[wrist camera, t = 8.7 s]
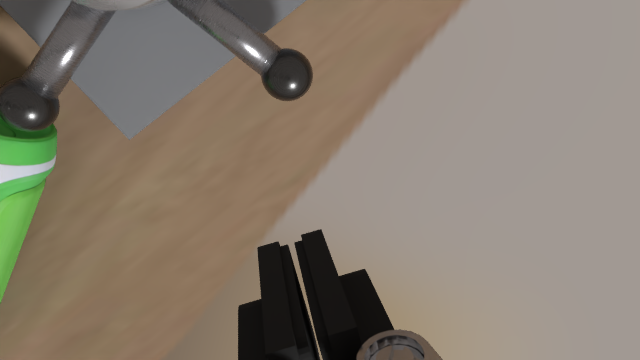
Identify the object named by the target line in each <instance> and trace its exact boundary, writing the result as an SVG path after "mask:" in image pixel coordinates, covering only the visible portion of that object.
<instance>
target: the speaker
mask: <svg viewBox="0 0 640 360" xmlns="http://www.w3.org/2000/svg"><path fill="white" fill-rule="evenodd" d="M56 150H57V130H56V128H55V126H54V125H53V123H52V124H51V125H50V126H49V127H47V128H45V129H43V130H40V131H35V132H25V131H20V130H17V129H15V128H13V127H11V126H9V125H8V124H7V123H6V122H4V121H3V119H2V118H1V117H0V303H1V300H2V297H3V295H4V292H5V289H6V287H7V284H8V281H9V279H10V276H11V273H12V271H13V268H14V265H15V262H16V260H17V257H18V254H19V252H20V249H21V246H22V243H23V241H24V238H25V236H26V233H27V230H28V228H29V225H30V222H31V220H32V217H33V214H34V212H35V209H36V206H37V204H38V201H39V199H40V196H41V193H42V191H43V188H44V185H45V181H46V179H45V178H46V177H47V176H48V175H49V174H50V173H51V171H52V170H53V168H54V165H55V160H56Z"/></svg>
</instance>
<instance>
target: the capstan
mask: <svg viewBox="0 0 640 360" xmlns="http://www.w3.org/2000/svg"><path fill="white" fill-rule="evenodd" d="M165 1H168V2H169V3H170V4H171V5H172V6H173V7H175V8H176V9H177V10H178V11H180V12H181V13H182V14H183V15H185V16H186V17H187V18H189V19H190V20H191V21H192V22H194V23H195V24H196V25H197V26H199V27H200V28H201V29H203V30H204V31H205V32H206V33H208V34H209V35H210V36H211V37H213V38H214V39H215V40H216V41H218V42H219V43H220V44H222V45H223V46H224V47H225V48H227V49H228V50H229V51H230V52H232V53H233V54H234V55H235V56H237V57H238V58H239V59H241V60H242V61H243V62H244V63H246V64H247V65H248V66H249V67H251V68H252V69H253V70H254V71H256V72H257V73H258V74H260V75H261V78H262V83H263V85H264V87H265V89H266V90H267V92H268V93H269V94H270V95H271V96H273V97H274V98H276V99H279V100H282V101H292V100H296V99H298V98H300V97H302V96H303V95H304V94H305V93H306V92H307V91H308V89H309V88H310V86H311V83H312V78H313V72H312V67H311V65H310V62H309V61H308V59H307V58H306V57H305V56H304V55H303V54H302V53H300V52H299V51H296V50H294V49H288V48H286V49H281V48H280V47H279V46H278V45H276V44H275V43H274V42H273V41H271V40H270V39H269V38H268V37H267V36H265V35H264V34H263V33H262V32H261V31H259V30H258V29H257V28H256V27H255V26H253V25H252V24H251V23H250V22H248V21H247V20H246V19H245V18H244V17H242V16H241V15H240V14H239V13H238V12H236V11H235V10H234V9H233V8H232V7H230V6H229V5H228V4H227V3H225V2H224V1H223V0H72V1H71V2H70V4H69V6H68V7H67V9H66V10H65V12H64V13H63V15H62V16H61V18H60V19H59V21H58V22H57V24H56V25H55V27H54V29H53V30H52V32H51V33H50V35H49V36H48V38H47V39H46V41H45V42H44V44H43V45H42V47H41V48H40V50H39V51H38V53H37V55H36V56H35V58H34V59H33V61H32V62H31V64H30V65H29V67H28V68H27V70H26V71H25V73H24V74H23V76H22V77H19V78H15V79H12V80H10V81H8V82H6V83H5V84H4V85H3V86H2V87H1V88H0V117H1V118H2V119H3V121H4V122H6V123H7V124H8V125H9V126H11V127H13V128H15V129H17V130H20V131H25V132H35V131H40V130H43V129H45V128H47V127H49V126H50V125H51V124H52V123H53V122H54V121H55V120H56V118H57V116H58V114H59V107H60V106H59V100H58V96H59V95H60V93H61V92H62V90H63V89H64V87H65V86H66V84H67V83H68V81H69V80H70V78H71V77H72V75H73V74H74V72H75V71H76V70H77V68H78V67H79V65H80V64H81V62H82V61H83V59H84V58H85V56H86V55H87V53H88V52H89V50H90V49H91V47H92V46H93V44H94V43H95V41H96V40H97V38H98V37H99V36H100V34H101V33H102V31H103V30H104V28H105V27H106V25H107V24H108V22H109V21H110V19H111V18H112V16H113V15H114V13H115V12H116V10H141V9H147V8H152V7H155V6H158V5H160V4H162V3H164V2H165Z"/></svg>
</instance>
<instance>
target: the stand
mask: <svg viewBox="0 0 640 360" xmlns="http://www.w3.org/2000/svg"><path fill="white" fill-rule="evenodd" d="M71 1H72V0H0V5H1V6H2V7H3V9H4V10H5V11H6V12H7V13H8V14H9V15H10V16H11V17H12V18H13V19H14V20H15V21H16V22H17V23H18V24H19V25H20V26H21V27H22V28H23V29H24V30H25V31H26V33H27V34H28V35H29V36H30V37H31V38H32V39H33V40H34V41H35V42H36V43H37V44H38V45H39V46H40V47H42V45H43V44H44V42H45V41H46V39H47V38H48V36H49V35H50V33H51V32H52V30H53V29H54V27H55V25H56V24H57V22H58V21H59V19H60V18H61V16H62V15H63V13H64V12H65V10H66V9H67V7H68V6H69V4H70V2H71ZM223 1H224V2H225V3H227V4H228V5H229V6H230V7H232V8H233V9H234V10H235V11H236V12H238V13H239V14H240V15H241V16H242V17H244V18H245V19H246V20H247V21H248V22H250V23H251V24H252V25H253V26H255V27H256V28H257V29H258V30H259V31H261V32H262V33H263V34H264V33H265V32H267V31H268V30H269V29H271V28H272V27H273V26H274V25H276V24H277V23H278V22H279V21H281V20H282V19H283V18H284V17H286V16H287V15H288V14H290V13H291V12H292V11H293V10H295V9H296V8H297V7H298V6H300V5H301V4H302V3H303V2H305V1H306V0H223ZM234 57H235V55H234V54H233V53H232V52H230V51H229V50H228V49H227V48H225V47H224V46H223V45H222V44H220V43H219V42H218V41H216V40H215V39H214V38H213V37H211V36H210V35H209V34H208V33H206V32H205V31H204V30H203V29H201V28H200V27H199V26H197V25H196V24H195V23H194V22H192V21H191V20H190V19H189V18H187V17H186V16H185V15H183V14H182V13H181V12H180V11H178V10H177V9H176V8H175V7H173V6H172V5H171V4H170V3H169V2H168V1H165V2H164V3H162V4H160V5H158V6H155V7H152V8H147V9H141V10H116V12H115V13H114V15H113V16H112V18H111V19H110V21H109V22H108V24H107V25H106V27H105V28H104V30H103V31H102V33H101V34H100V36H99V37H98V38H97V40H96V41H95V43H94V44H93V46H92V47H91V49H90V50H89V52H88V53H87V55H86V56H85V58H84V59H83V61H82V62H81V64H80V65H79V67H78V68H77V70H76V71H75V72H74V74H73V75H72V77H71V79H72V81H73V82H74V83H75V84H76V85H77V86H78V87H79V88H80V89H81V90H82V91H83V92H84V93H85V94H86V95H87V96H88V97H89V98H90V99H91V100H92V101H93V102H94V103H95V105H96V106H97V107H98V108H99V109H100V110H101V111H102V112H103V113H104V114H105V115H106V116H107V117H108V118H109V119H110V120H111V121H112V122H113V123H114V124H115V125H116V126H117V127H118V129H119V130H120V131H121V132H122V133H123V134H124V135H125V136H126V137H127V138H128V139H129V140H130V139H131V138H132V137H134V136H135V135H136V134H138V133H139V132H140V131H141V130H143V129H144V128H145V127H146V126H148V125H149V124H150V123H151V122H153V121H154V120H155V119H157V118H158V117H159V116H160V115H162V114H163V113H164V112H165V111H167V110H168V109H169V108H170V107H172V106H173V105H174V104H176V103H177V102H178V101H179V100H181V99H182V98H183V97H184V96H186V95H187V94H188V93H189V92H191V91H192V90H193V89H195V88H196V87H197V86H198V85H200V84H201V83H202V82H203V81H205V80H206V79H207V78H208V77H210V76H211V75H212V74H214V73H215V72H216V71H217V70H219V69H220V68H221V67H222V66H224V65H225V64H226V63H227V62H229V61H230V60H231V59H233V58H234Z"/></svg>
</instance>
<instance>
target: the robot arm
mask: <svg viewBox="0 0 640 360" xmlns="http://www.w3.org/2000/svg"><path fill="white" fill-rule="evenodd" d="M301 237H302V241H298V242H295V248H296V252H297V256H298V261H299V265H300V269H301V273H302V278H303V282H304V286H305V290H306V295H307V298H308V303H309V307H310V312H311V316H312V320H313V324H314V328H315V333H316V337H317V341H318V344H319V347H320V351H321V355H322V358H323V360H442V358H441V357H440V356H439V355H438V354H437V352H436V351H435V350H434V349H433V347H431V345H430V344H429V343H428V342H427V341H426V340H425V339H424V338H423V337H421V336H420V335H418V334H416V333H414V332H411V331H406V330H394V328H393V326H392V324H391V322H390V320H389V317H388V315H387V313H386V311H385V309H384V307H383V305H382V303H381V301H380V299H379V297H378V295H377V292H376V290H375V288H374V286H373V284H372V282H371V280H370V278H369V276H368V274H367V272H366V270H365V269H362V270H359V271H355V272H352V273H348V274H345V275H342V276H338V273H337V271H336V268H335V265H334V263H333V260H332V257H331V255H330V252H329V249H328V246H327V244H326V241H325V238H324V236H323V233H322V230H317V231H313V232H310V233H306V234H303V235H301ZM258 261H259V274H260V287H261V299H259V300H256V301H253V302H249V303H246V304H242V305H240V306H239V309H238V360H320V357H319V353H318V348H317V344H316V340H315V336H314V332H313V328H312V325H311V321H310V318H309V315H308V311H307V308H306V304H305V301H304V298H303V294H302V291H301V288H300V284H299V281H298V277H297V274H296V270H295V267H294V263H293V260H292V257H291V253H290V250H289V246H288V245H284V246H281V247H280V244H279V242H274V243H271V244H267V245H264V246H260V247H258Z"/></svg>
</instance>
